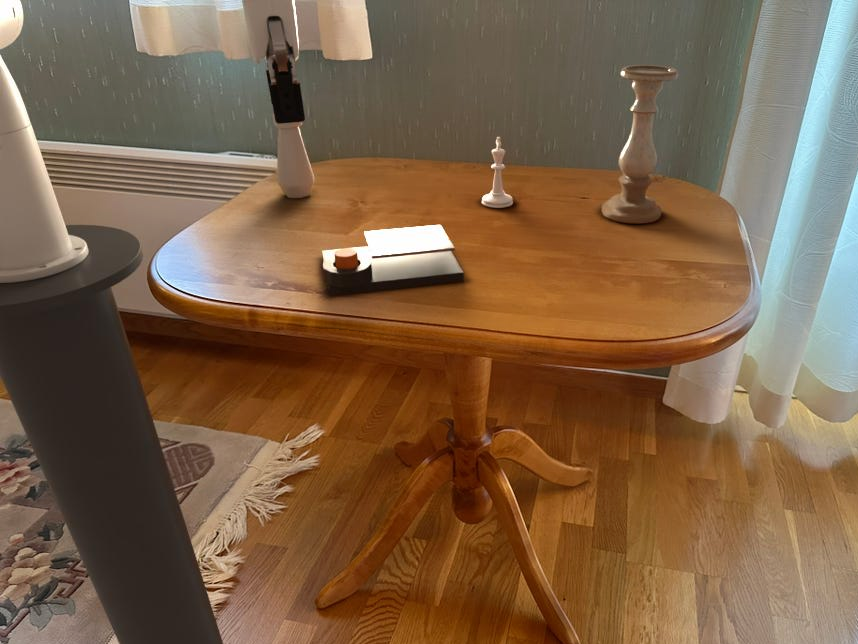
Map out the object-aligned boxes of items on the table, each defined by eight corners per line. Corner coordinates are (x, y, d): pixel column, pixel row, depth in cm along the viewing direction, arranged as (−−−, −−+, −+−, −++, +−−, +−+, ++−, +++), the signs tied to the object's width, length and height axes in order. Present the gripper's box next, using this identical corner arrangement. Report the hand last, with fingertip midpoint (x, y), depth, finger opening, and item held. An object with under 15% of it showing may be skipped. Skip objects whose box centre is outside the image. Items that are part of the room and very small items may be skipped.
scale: (327, 299, 77) (324, 275, 76) (320, 259, 87) (317, 237, 85) (465, 284, 81) (465, 260, 79) (444, 247, 90) (443, 225, 89)
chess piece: (508, 196, 108) (510, 132, 103) (516, 206, 104) (518, 140, 99) (478, 198, 107) (478, 134, 102) (485, 208, 103) (486, 142, 98)
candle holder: (642, 229, 96) (663, 77, 86) (590, 215, 101) (604, 69, 90) (671, 213, 102) (694, 68, 91) (620, 200, 107) (637, 61, 96)
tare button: (336, 272, 77) (335, 257, 76) (335, 263, 79) (333, 249, 78) (359, 269, 78) (358, 255, 77) (357, 260, 80) (355, 247, 79)
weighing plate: (372, 259, 79) (371, 255, 79) (364, 234, 86) (363, 231, 86) (454, 250, 82) (454, 247, 82) (440, 227, 88) (440, 224, 88)
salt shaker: (272, 197, 107) (258, 112, 100) (290, 187, 112) (278, 104, 105) (305, 201, 106) (294, 115, 99) (322, 190, 111) (312, 107, 104)
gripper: (223, -60, 76) (253, 101, 85) (220, -59, 62) (256, 133, 71) (291, -61, 77) (313, 96, 87) (303, -61, 63) (328, 127, 73)
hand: (287, 112), depth 79 cm, fingers open, 9 cm apart
